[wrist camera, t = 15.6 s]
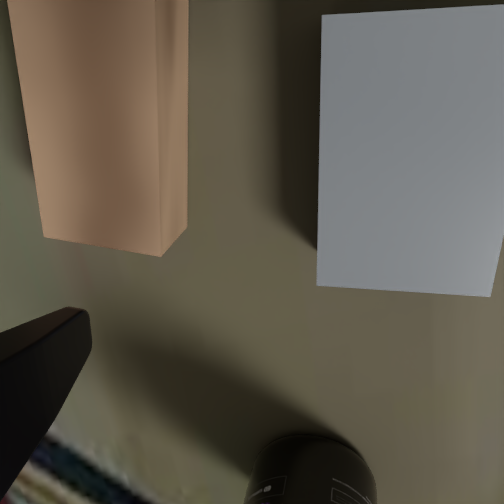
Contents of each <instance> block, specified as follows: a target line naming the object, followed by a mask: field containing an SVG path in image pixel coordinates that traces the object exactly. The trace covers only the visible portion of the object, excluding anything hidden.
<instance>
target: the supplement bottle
mask: <svg viewBox="0 0 504 504" xmlns="http://www.w3.org/2000/svg"><path fill="white" fill-rule="evenodd" d="M244 504H377V490H376V483H375V480H374V477H373V475H372V472H371V471H370V469H369V467H368V466H367V465H366V463H365V462H364V461H363V460H362V459H361V458H360V457H359V456H358V455H357V454H356V453H355V452H353V451H352V450H350V449H349V448H347V447H346V446H344V445H342V444H340V443H338V442H335V441H333V440H330V439H327V438H323V437H319V436H313V435H294V436H288V437H284V438H281V439H278V440H276V441H274V442H272V443H270V444H269V445H267V446H266V447H265V448H264V449H263V450H262V451H261V452H260V453H259V455H258V456H257V458H256V460H255V463H254V465H253V469H252V473H251V477H250V480H249V484H248V488H247V492H246V496H245V500H244Z"/></svg>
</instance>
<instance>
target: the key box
mask: <svg viewBox="0 0 504 504" xmlns="http://www.w3.org/2000/svg"><path fill="white" fill-rule="evenodd" d="M7 3H8V9H9V16H10V22H11V29H12V35H13V41H14V48H15V54H16V61H17V67H18V74H19V80H20V86H21V93H22V99H23V106H24V112H25V119H26V125H27V131H28V138H29V144H30V151H31V157H32V164H33V170H34V176H35V183H36V189H37V196H38V202H39V209H40V215H41V221H42V228H43V234H44V237H48V238H53V239H59V240H65V241H71V242H77V243H83V244H89V245H94V246H100V247H106V248H112V249H118V250H124V251H130V252H136V253H141V254H147V255H153V256H159V257H161V256H162V255H163V254H164V253H165V252H166V251H167V249H168V248H169V247H170V246H171V245H172V244H173V243H174V241H175V240H176V239H177V238H178V237H179V236H180V235H181V233H182V232H183V231H184V230H185V229H186V228H187V186H188V21H189V0H7Z"/></svg>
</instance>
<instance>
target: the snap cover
mask: <svg viewBox="0 0 504 504" xmlns="http://www.w3.org/2000/svg"><path fill="white" fill-rule="evenodd" d="M503 236H504V4H501V5H484V6H467V7H450V8H434V9H417V10H400V11H383V12H366V13H349V14H332V15H322V34H321V86H320V139H319V191H318V243H317V286H330V287H346V288H361V289H376V290H392V291H407V292H422V293H438V294H453V295H468V296H484V297H490V296H491V292H492V287H493V282H494V278H495V273H496V268H497V264H498V259H499V255H500V250H501V245H502V241H503Z"/></svg>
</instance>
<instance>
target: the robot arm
mask: <svg viewBox="0 0 504 504" xmlns="http://www.w3.org/2000/svg"><path fill="white" fill-rule="evenodd" d="M91 348H92V335H91V326H90V318H89V314H88V312H87V311H86V310H84V309H80V308H74V307H65V308H62V309H59V310H57V311H54V312H52V313H49V314H47V315H44V316H42V317H39V318H37V319H34V320H31V321H29V322H26V323H24V324H21V325H19V326H16V327H14V328H11V329H9V330H6V331H3V332H1V333H0V502H1V500H2V499H3V497H4V496H5V494H6V493H7V491H8V489H9V488H10V486H11V485H12V483H13V482H14V480H15V479H16V477H17V476H18V474H19V473H20V471H21V470H22V468H23V467H24V465H25V464H26V462H27V461H28V459H29V458H30V456H31V455H32V453H33V452H34V450H35V449H36V447H37V446H38V444H39V443H40V441H41V440H42V438H43V437H44V435H45V434H46V432H47V431H48V429H49V428H50V426H51V425H52V423H53V422H54V420H55V418H56V417H57V415H58V413H59V411H60V409H61V408H62V406H63V404H64V402H65V400H66V398H67V396H68V394H69V392H70V391H71V389H72V387H73V385H74V383H75V381H76V379H77V377H78V375H79V373H80V371H81V370H82V368H83V366H84V364H85V362H86V360H87V358H88V356H89V354H90V352H91Z"/></svg>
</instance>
